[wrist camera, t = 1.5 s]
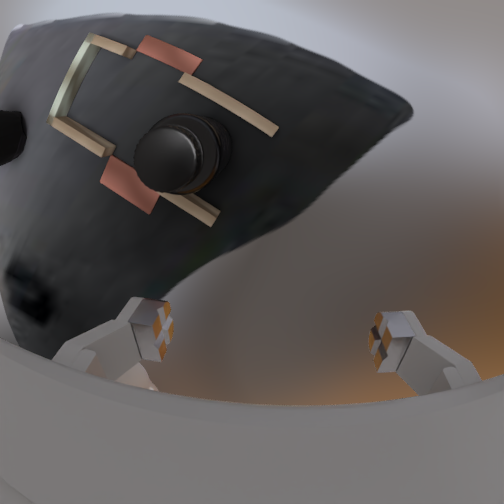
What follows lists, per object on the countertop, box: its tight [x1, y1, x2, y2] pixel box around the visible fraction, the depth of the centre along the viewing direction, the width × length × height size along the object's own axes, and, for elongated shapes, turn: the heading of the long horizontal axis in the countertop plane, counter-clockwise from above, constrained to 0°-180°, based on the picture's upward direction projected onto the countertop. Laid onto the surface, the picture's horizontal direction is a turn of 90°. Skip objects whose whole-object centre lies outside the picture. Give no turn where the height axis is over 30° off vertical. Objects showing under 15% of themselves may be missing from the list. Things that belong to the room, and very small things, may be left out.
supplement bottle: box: [134, 114, 232, 195], centre depth 23 cm, size 7×7×12 cm
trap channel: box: [46, 33, 279, 227], centre depth 26 cm, size 18×26×2 cm
